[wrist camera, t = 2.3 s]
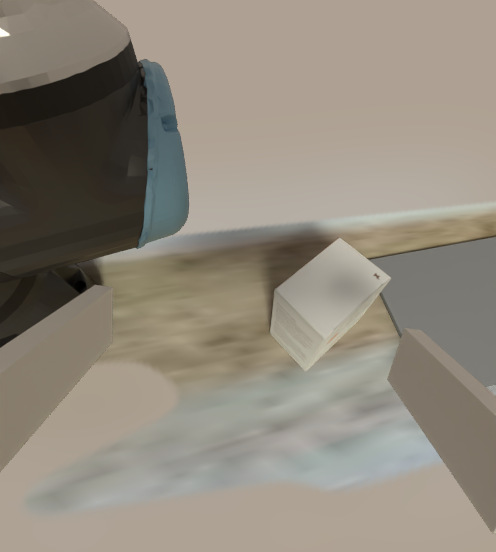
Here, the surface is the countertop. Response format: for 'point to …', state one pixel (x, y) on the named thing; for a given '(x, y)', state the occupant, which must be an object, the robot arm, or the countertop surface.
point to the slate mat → (448, 300)
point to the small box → (324, 301)
